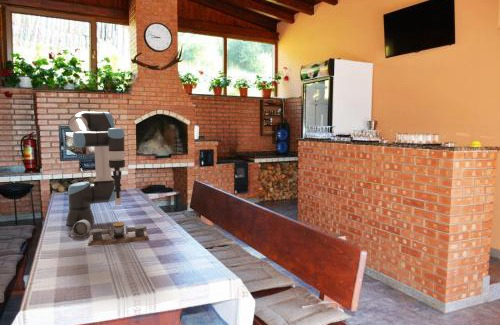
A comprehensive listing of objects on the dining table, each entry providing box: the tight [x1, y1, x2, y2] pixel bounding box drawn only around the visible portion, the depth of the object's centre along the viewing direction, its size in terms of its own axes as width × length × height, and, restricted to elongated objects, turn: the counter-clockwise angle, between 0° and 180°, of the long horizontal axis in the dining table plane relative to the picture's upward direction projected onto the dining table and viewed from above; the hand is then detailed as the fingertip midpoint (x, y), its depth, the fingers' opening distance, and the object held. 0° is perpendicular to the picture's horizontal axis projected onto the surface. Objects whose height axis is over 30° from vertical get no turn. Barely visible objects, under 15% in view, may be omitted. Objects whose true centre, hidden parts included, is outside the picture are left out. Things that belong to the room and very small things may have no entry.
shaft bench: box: [87, 224, 150, 246], centre depth 195 cm, size 28×11×7 cm, turn 110°
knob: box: [112, 221, 125, 238], centre depth 195 cm, size 5×5×7 cm
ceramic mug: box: [67, 220, 92, 237], centre depth 204 cm, size 11×8×8 cm
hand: (118, 201), depth 195 cm, fingers open, 13 cm apart
